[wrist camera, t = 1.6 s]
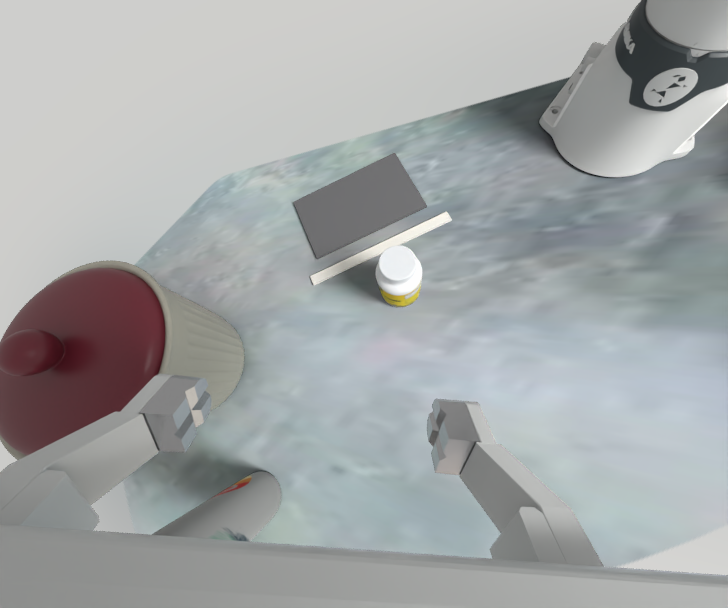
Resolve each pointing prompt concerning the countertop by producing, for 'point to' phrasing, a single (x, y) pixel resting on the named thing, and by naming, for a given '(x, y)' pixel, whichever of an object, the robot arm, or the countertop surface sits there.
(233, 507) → the lotion bottle
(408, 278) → the supplement bottle
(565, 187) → the countertop surface
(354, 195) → the mat
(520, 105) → the countertop surface
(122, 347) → the canister
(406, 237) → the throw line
